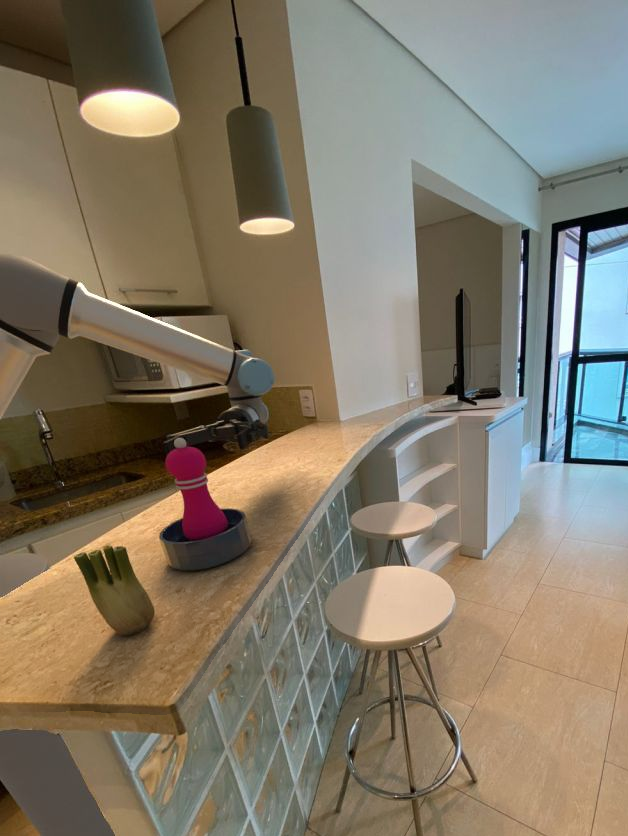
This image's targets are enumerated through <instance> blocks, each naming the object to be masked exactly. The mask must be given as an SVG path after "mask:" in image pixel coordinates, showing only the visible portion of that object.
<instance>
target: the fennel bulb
mask: <svg viewBox="0 0 628 836" xmlns="http://www.w3.org/2000/svg"><path fill="white" fill-rule="evenodd" d="M102 551H103V552H102ZM102 551H101V549H95V550H92V551H90V552H88V553H87V552H85V551H82V552H79V553H77V554H75V555H73V559H74V561H75V563H76V565H77V567H78V569H79V570H80V573H81V575H82V577H83V579H84V581H85V584H86V587H87V589H88V592H89V595H90V598H91V599H92V602H93V603H94V606H95V607H96V609H97V610H98V612H99V614H100V615H101V616H102V618H103V620H104V621H105V623H107V625H108V626H109V628H110V629H112V630H113V631H114V632H116V633H117V634H119V635H120V636H132V635H134V634H137V633H140V632H141V631H143V630H144V629H145V628H146V627H147V626H148V625H149V624H150V623H151V622H152V621H153V619H154V617H155V613H156V611H155V608H154V607H155V606H154V605H153V603H152V600H151V598H150V596H149V594H148V592H147V590H146V589H145V587H143V585H142V584H141V582H140V581H139V579H138V578H137V575H136V574H135V571H134V568H133V566H132V563H131V561H130V557H129V553H128V551H127V548H126V546H123V545H118V546H114V547H113V546H112V545H104V546H103V549H102ZM103 553H104V555H103Z"/></svg>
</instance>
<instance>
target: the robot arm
mask: <svg viewBox="0 0 628 836" xmlns="http://www.w3.org/2000/svg"><path fill="white" fill-rule="evenodd" d="M61 336H62V337H64V338H68V339H74V338H77V337H82V338H85V339H88V340H91V341H94V342H97V343H100V344H102V345H106V346H108V347H112V348H115V349H117V350H119V351H120V350H121V351H122V352H123V351H124V352H125V353H128V354H129V353H130V354H131V355H135V356H137V357H141V358H144V359H147V360H148V361H149V360H150V361H153V362H155V363H159V364H161V365H164V366H167V367H169V368H172V369H175V370H179V371H182V372H185V373H187V374H190V375H193V376H196V377H199V378H203V379H205V380H208V381H210V382H213V383H217V384H220V385H223V386H226V388H227V393H228V397H229V402H230V405H231V406H230V408H229V409H227V410H224V411H223V412H221V413H220V414H219V416H218V417H217V420H216V422H215V423H212V424H208V425H203V424H202V425H199V426H197V427H193V428H190V429H187V430H182V431H180V432H176V433H172V434H168V435H166V441H164V442H162V445H163V448H164V451H165V454H166V456H167V455H168V454H169V453H170V452H171V451H173V450H174V449H177V448H176V447H175V445H174V441H175V440H176V439H177V438H183V439H184V440H185V441H186V447H191V446H193V445H198V444H201V443H205V442H211V443H214V442H219V441H226V442H228V443H230V444H238V448H239V450H244V449H246V448H247V447H249V446H250V445H251V444H252V443H253V442H254V441H259V440H260V439H261V438H262V439H266V440H267V439H269V438H270V433H269V429H268V425H267V422H268V420H269V416H270V414H269V409H268V406H266V404H265V403H264V402H263V400H262V399H263V398H262V396H264V395H265V394H267V393H268V392H270V391H271V390H272V389H273V386H274V384H275V373H274V370H273V368H272V367H271V365H270V364H269V363H268V362H266V361H265V360H264V359H261V358H258V357H256V356H255V357H253V354H252V352H251V350H249V349H242V350H233V349H232V348H229V347H226V346H224V345H221V344H218V343H216V342H213V341H212V340H208V339H206V338H204V337H201V336H199V335H197V334H194V333H191V332H188V331H187V330H184V329H181V328H178V327H176V326H174V325H171V324H168V323H165V322H163V321H161V320H158V319H155V318H153V317H150V316H148V315H146V314H144V313H141V312H139V311H136V310H133V309H131V308H129V307H126V306H123V305H121V304H119V303H116V302H113V301H110V300H109V299H107V298H106V299H105V298H103V297H100V296H98V295H96V294H93V293H90V292H89V291H88V290H87V289H86V287H85V286H84V285H83V283H81V282H79V281H77V280H74V279H72V278H69V277H67V276H65V275H63V274H60V273H58V272H56V271H54V270H53V269H50V268H48V267H46V266H44V265H43V264H40V262H37V261H35V260H33V259H30V258H28V257H26V256H22V255H18V254H10V253H6V254H4V253H3V254H2V253H1V254H0V420H1V419H2V417H3V416H4V414H5V412H6V411H7V409H8V407H9V406H10V404H11V402H12V400H13V399H14V397H15V395H16V393H17V392H18V390H19V389H20V386H21V385H22V383H23V381H24V379H25V377H26V376H27V374H28V373H29V370H30V369H31V367H32V365H33V363H34V362H35V360H36V358H37V357H41V356H46V355H51V353H52V351H53V349H54V347H55V346H56V344H57V342H58V341H59V339H60V338H61Z"/></svg>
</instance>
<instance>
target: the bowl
mask: <svg viewBox="0 0 628 836" xmlns="http://www.w3.org/2000/svg"><path fill="white" fill-rule="evenodd" d="M220 509H221V510H222V512H223V513H224V515H225V517H226V519H227V522H228V527H227V529H226V531H225V532H223V533H220V534H218V535H215V536H213V537H209V538H205V539H202V540H197V541H191V540H189V539H188V538H186V537H185V535H184V532H183V527H182V520H183V517H181V518H179V519H177V520H175V521H173V522H171V523H170V524H168V525H166V526H165V527H164V528H163V529H162V530H161V531H160V532H159V533H158V539H159V542H160V545H161V548H162V551H163V553H164V556H165V559H166V561H167V565H169V566H170V567H171V568H172V569H175V570H179V571H199V570H206V569H211V568H214V567H218V566H220V565H224V564H225V563H228V562H230V561H232V560H234V559H235V558H237V557H238V556H240V555H242V554H243V553H245V552H246V550H247V549H248V548H249V547H251V544H252V541H253V539H252V535H251V531H250V527H249V524H248V520H247V515H246V514H245V512H244V511H242V510H240V509H237V508H229V507H227V508H220Z"/></svg>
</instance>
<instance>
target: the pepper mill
mask: <svg viewBox="0 0 628 836" xmlns="http://www.w3.org/2000/svg"><path fill="white" fill-rule="evenodd" d="M174 445H175V447H176V448H177V449H174V450H173V451H171V452H170V453H169V454H168V455H166V458H165V468H166V470H167V472H168V474H170V475H171V476H172V477H174V480H173V481H174V483H175V486H176V489H178V490H180V493H181V497H182V500H183V515H182V518H183V520H182V527H183V532H184V535H185V537H186V538H188V539H189V540H191V541H197V540H202V539H205V538H209V537H213V536H215V535H218V534H220V533H223V532H225V531H226V529H227V527H228V522H227V519H226V517H225V515H224V513H223V512H222V510H221V509H222V508H220V507H219V505H218V504H217V503H216V502H215V501H214V499H213V498H212V496H211V493H210V491H209V487H208V482H209V478H208V473H206V472H205V469H206V468H207V459H206V457H205V454H204V452H203V451H201V450H200V449H198V448H196V447H193V446H186V441H185V440H184V439H183V438H177V439H176V440H175V441H174Z"/></svg>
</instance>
